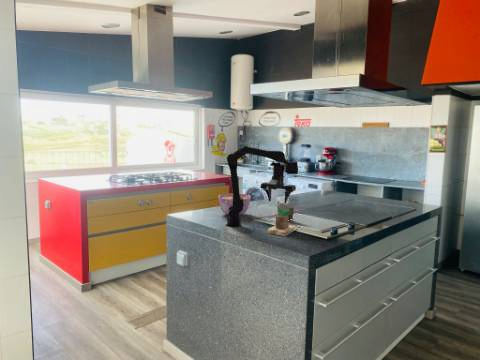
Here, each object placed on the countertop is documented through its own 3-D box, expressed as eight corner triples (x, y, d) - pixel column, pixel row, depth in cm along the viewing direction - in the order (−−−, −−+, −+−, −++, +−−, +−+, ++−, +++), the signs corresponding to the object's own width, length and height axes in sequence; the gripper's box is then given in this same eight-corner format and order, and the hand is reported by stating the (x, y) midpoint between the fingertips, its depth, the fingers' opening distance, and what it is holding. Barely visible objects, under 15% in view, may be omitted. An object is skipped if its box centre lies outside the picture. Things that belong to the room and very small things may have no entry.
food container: (271, 219, 219) (271, 202, 217) (277, 217, 223) (278, 201, 222) (287, 223, 210) (288, 205, 209) (294, 221, 215) (295, 204, 213)
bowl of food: (217, 218, 217) (217, 199, 215) (218, 211, 237) (218, 193, 235) (251, 219, 218) (252, 199, 216) (249, 211, 237) (249, 193, 236)
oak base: (267, 233, 190) (267, 229, 189) (278, 226, 202) (278, 223, 202) (285, 236, 185) (285, 232, 185) (295, 229, 197) (295, 226, 197)
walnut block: (275, 227, 192) (275, 216, 191) (279, 225, 197) (279, 214, 196) (284, 229, 190) (284, 217, 189) (288, 227, 194) (288, 216, 193)
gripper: (256, 174, 198) (255, 202, 200) (288, 177, 189) (287, 207, 191) (265, 172, 208) (264, 199, 210) (296, 174, 198) (295, 203, 201)
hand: (277, 202), depth 203 cm, fingers open, 9 cm apart
